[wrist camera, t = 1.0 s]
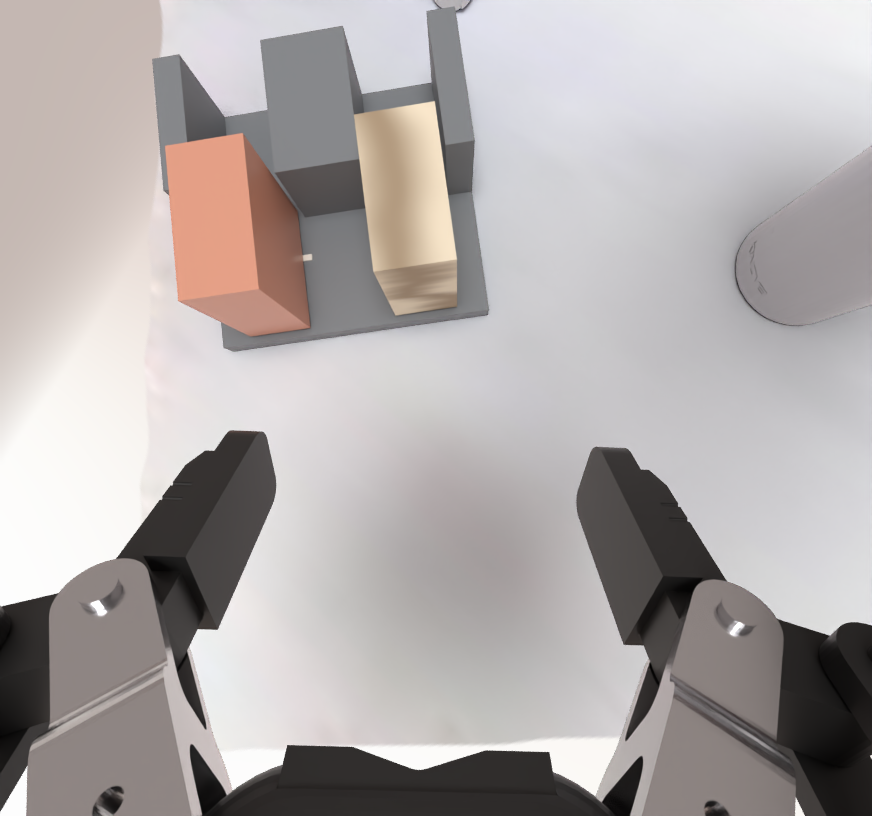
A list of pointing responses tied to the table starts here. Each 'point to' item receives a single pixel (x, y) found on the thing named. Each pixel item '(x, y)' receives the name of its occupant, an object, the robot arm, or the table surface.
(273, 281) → the terracotta plug
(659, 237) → the table surface
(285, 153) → the grey slotted tray
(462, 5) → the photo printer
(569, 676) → the table surface
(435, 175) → the ash plug
